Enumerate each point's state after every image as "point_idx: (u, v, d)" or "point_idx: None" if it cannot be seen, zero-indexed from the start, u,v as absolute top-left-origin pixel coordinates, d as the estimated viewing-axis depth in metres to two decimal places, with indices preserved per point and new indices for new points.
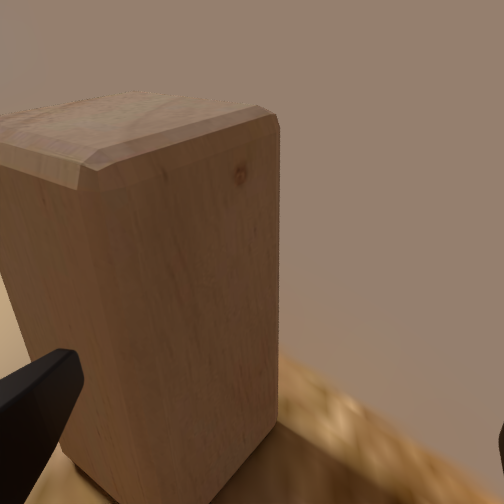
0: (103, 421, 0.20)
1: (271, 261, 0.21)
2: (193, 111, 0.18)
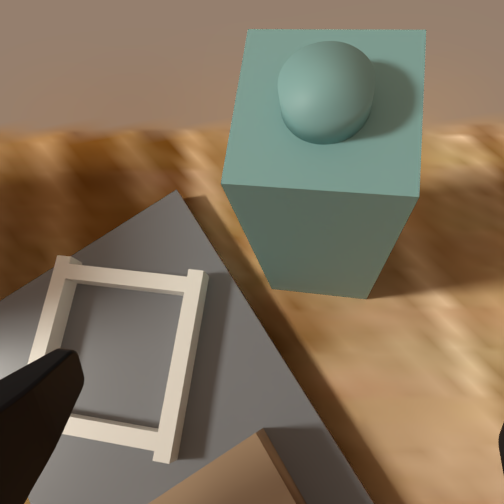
0: None
1: None
2: None
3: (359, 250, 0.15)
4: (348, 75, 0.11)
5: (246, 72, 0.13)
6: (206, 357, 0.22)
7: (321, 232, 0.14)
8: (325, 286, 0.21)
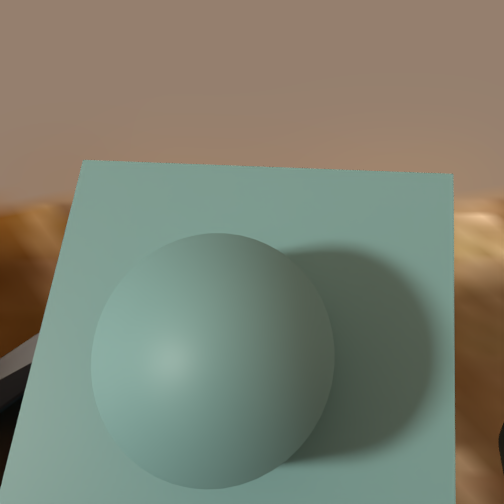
0: None
1: None
2: None
3: None
4: (264, 339, 0.04)
5: (69, 262, 0.06)
6: None
7: None
8: None
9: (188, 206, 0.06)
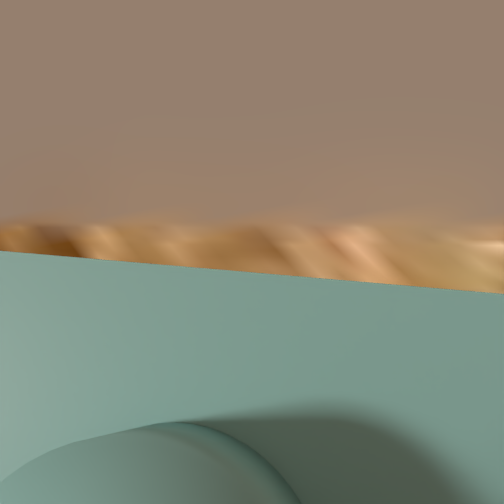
0: None
1: None
2: None
3: None
4: None
5: None
6: None
7: None
8: None
9: (117, 329, 0.04)
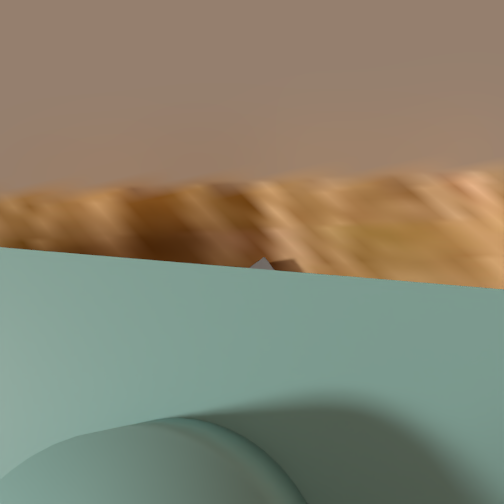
0: None
1: None
2: None
3: None
4: None
5: None
6: None
7: None
8: None
9: (120, 325, 0.04)
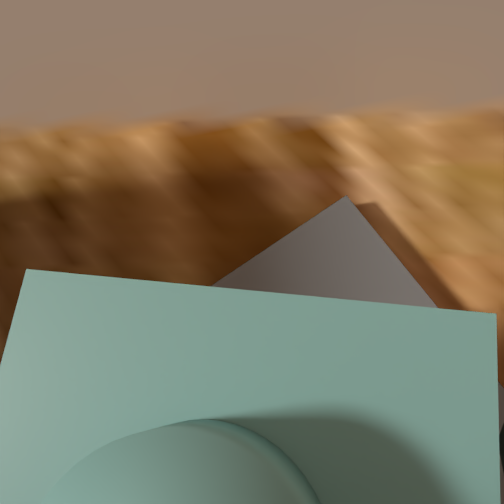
0: None
1: None
2: None
3: None
4: None
5: (3, 409, 0.05)
6: None
7: None
8: None
9: (154, 340, 0.05)
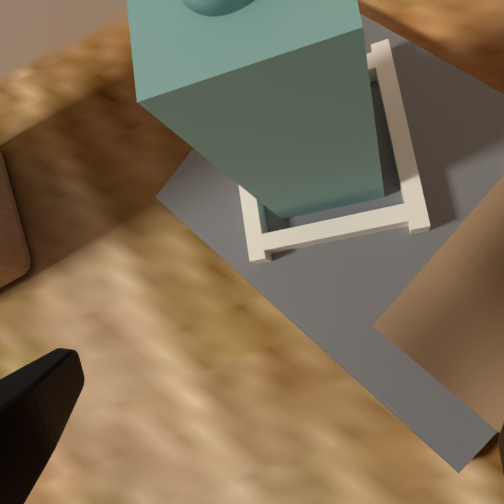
0: None
1: None
2: None
3: (340, 135, 0.13)
4: None
5: None
6: (419, 128, 0.21)
7: (285, 127, 0.12)
8: (333, 196, 0.19)
9: None
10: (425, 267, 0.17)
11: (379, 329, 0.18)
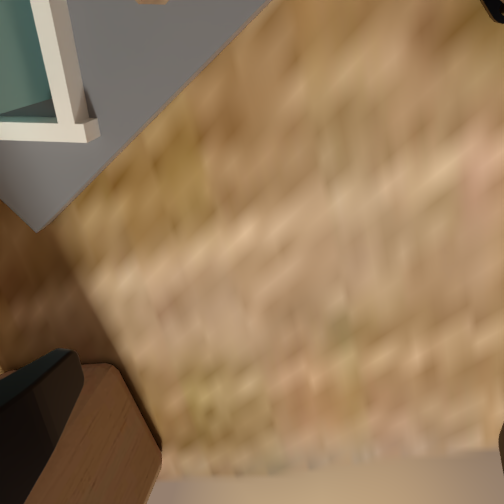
0: (73, 499, 0.23)
1: None
2: None
3: None
4: None
5: None
6: None
7: None
8: (4, 28, 0.17)
9: None
10: None
11: None
